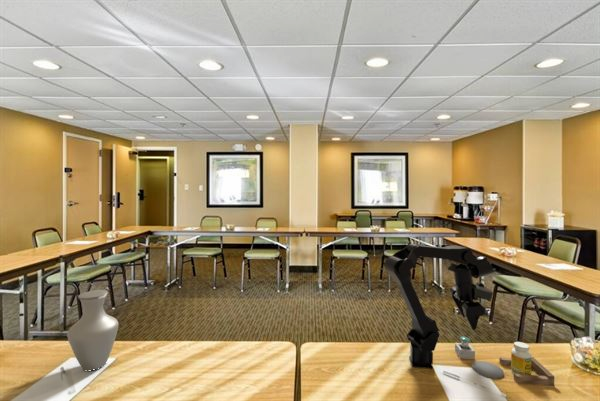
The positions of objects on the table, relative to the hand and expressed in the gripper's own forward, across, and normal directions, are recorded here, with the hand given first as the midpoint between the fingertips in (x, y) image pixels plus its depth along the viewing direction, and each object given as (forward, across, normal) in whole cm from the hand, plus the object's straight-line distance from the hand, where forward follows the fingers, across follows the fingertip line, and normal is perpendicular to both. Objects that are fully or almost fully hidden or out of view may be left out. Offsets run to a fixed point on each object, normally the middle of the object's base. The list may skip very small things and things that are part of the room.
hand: (469, 322), depth 110 cm
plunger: (+9, 0, +3) cm, 10 cm away
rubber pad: (+12, -9, -1) cm, 15 cm away
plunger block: (+12, 0, +3) cm, 12 cm away
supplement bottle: (+14, -9, -11) cm, 20 cm away
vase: (-9, -29, +128) cm, 132 cm away
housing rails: (+14, -9, -12) cm, 20 cm away
